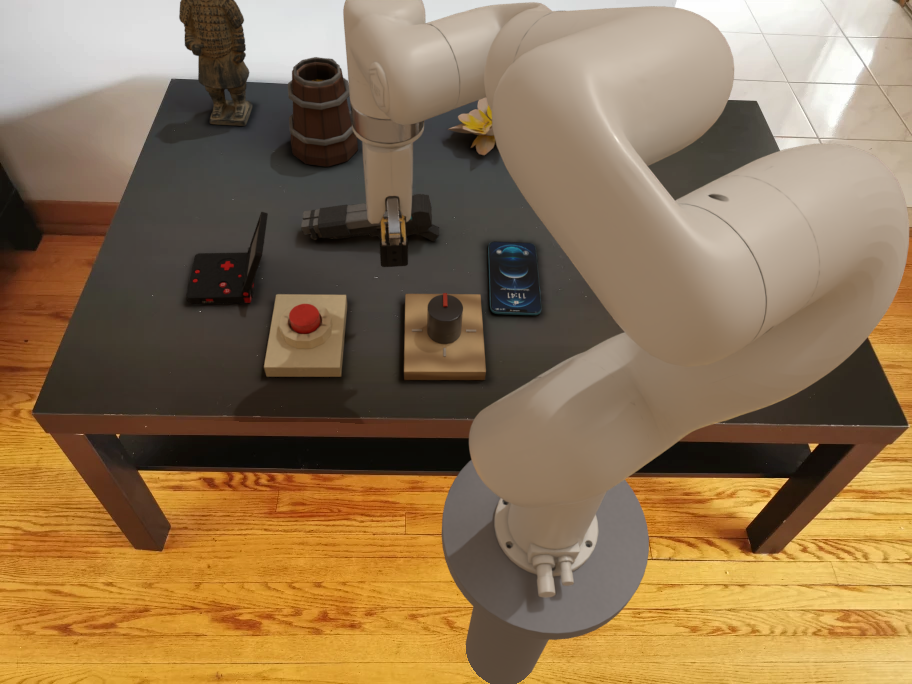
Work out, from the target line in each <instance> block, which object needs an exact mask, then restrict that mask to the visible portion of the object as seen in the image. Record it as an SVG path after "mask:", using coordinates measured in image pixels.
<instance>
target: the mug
mask: <svg viewBox="0 0 912 684" xmlns="http://www.w3.org/2000/svg"><path fill="white" fill-rule="evenodd" d="M343 74H344V73H343V71H342V68H341V66H340V64H339V63H337V61H335V60H334V59H333V58H330V57H329V58H328V57H327V58H326V57H318V56H313V57H309V58H305V59H301V60H300V61H299V62H297V63H296V64H295V65H294V66H293V67H292V70H291V80H290V81H289V82H288V83H287V93H288V94H287V95H288V99H289V100H290V101H292V114H291V115H289V117H288V123H289V124H288V125H289V133H290V146H291V153H292V155H293V156H294V157H296V158H297V159H298V160H300V161H301V162H303V163H304V164H305V165H310V166H319V167H326V168H328V167H332V166H335V165H339V164H343V163H347V162H348V161H349V160H351V158H352V157H353V156H354V155H355V154H356V153H357V152H358V151H359V144H358V138H357V137H356V135H355V134H354V132H353V129H352V117H351V110H350V108H349V107H350V106H349V103H348V102H349V101H348V98H350V94H349V81H348V79H346V78H345V77H344V75H343Z"/></svg>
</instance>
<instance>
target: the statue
mask: <svg viewBox="0 0 912 684" xmlns="http://www.w3.org/2000/svg"><path fill="white" fill-rule="evenodd" d="M178 19H179V21H180V22H181V24H183V27H184V47H185V48H186V49H187V50H188V51H190V52H191V53H192V55H193V56H196V57H197V58H198V61H197V62H198V65H197V66H198V67H197V68H198V69H197V70H198V74H197V75H198V76H197V80H198V82H199V84H200V85H201V86H204V88H205V90H206V92H207V93H208V95H209V97H210V99H211V101H212V103H213V106H212V112H211V114H210V117H209V120H208V121H209V124H211V125H218V126H219V125H221V126H238V127H246V126H247V123H248V121H249V118H250V117H251V116H250V115H251V112H252V110H253V103H252V101H250V100H246V99H247V98H246V93H247V92H246V91H247V87H248V86H247V85H248V83H247V82H248V78H249V77H250V70H249V68H248V66H247V65H246V63H245V61H244V60H245V59H246V57H247V53H246V52H245V51H246V50H247V49H246V48H247V47H246V46H247V45H246V37H245V31H244V27H243V24H244V23H245V18H244V15H243V13H242V11H241V8H240V6H239V5H238V4H237V2H236V1H235V0H180V1H179V15H178ZM225 90H227V91H228V92H229V95H230V97H231V99H226V93H225Z"/></svg>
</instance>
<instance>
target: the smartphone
mask: <svg viewBox="0 0 912 684" xmlns="http://www.w3.org/2000/svg"><path fill="white" fill-rule="evenodd" d="M487 252H488V253H487V255H488V285H489V309H490V311H491V312H492V313H493V314H496V315H512V316H513V315H516V316H517V315H519V316H538V315H540V314H541V312H542V296H541V288H540V277H539V268H538V267H539V266H538V255H537V247H536V245H535V244H534V243H531V242H520V241H519V242H518V241H491V242H489V243H488V246H487Z"/></svg>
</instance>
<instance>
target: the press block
mask: <svg viewBox="0 0 912 684" xmlns="http://www.w3.org/2000/svg"><path fill="white" fill-rule="evenodd" d="M300 304H311V305H313V306H315V307H316V308H317V309H318V311H319V316H320V325H319V327H318V328H317V329H316V330H315V331H314V332H312V333H308V334H300V333H297V332H295V331H294V330H293V329H292V327H291V324H290V319H289V313H290V311H291V310H292V309H293V308H294V307H295V306H297V305H300ZM347 312H348V299H347V294H299V293H298V294H295V293H294V294H293V293H292V294H290V293H287V294H285V293H277V294H275V299H274V305H273V311H272V317H271V322H270V327H269V328H270V329H269V335H268V341H267V346H266V351H265V352H266V353H265V358H264V363H263V364H264V365H263V370H264V373H265V376H266V377H267V378H269V377H271V378H275V377H276V378H277V377H279V378H285V377H287V378H288V377H289V378H290V377H291V378H293V377H294V378H303V377H304V378H323V377H324V378H329V377H330V378H342V374H343V372H342V371H343V361H344V348H345V338H346V337H345V335H346V327H347V326H346V324H347Z"/></svg>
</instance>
